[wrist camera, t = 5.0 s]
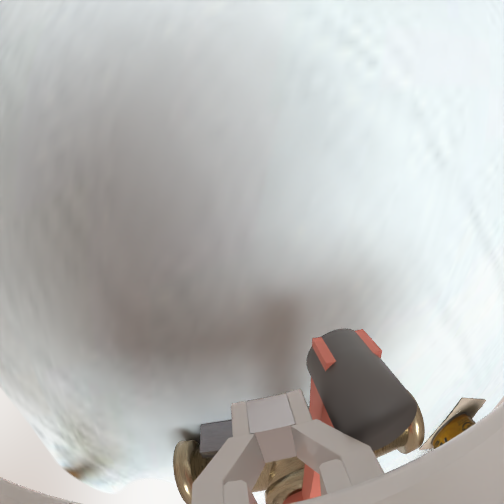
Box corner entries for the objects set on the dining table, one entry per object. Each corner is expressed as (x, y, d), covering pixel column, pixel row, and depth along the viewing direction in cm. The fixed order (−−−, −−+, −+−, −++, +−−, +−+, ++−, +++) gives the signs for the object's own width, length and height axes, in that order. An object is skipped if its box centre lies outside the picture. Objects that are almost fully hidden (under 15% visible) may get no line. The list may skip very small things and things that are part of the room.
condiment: (418, 449, 25) (460, 513, 13) (461, 397, 23) (518, 458, 12) (447, 445, 26) (486, 498, 14) (484, 398, 24) (534, 448, 13)
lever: (281, 515, 14) (291, 559, 10) (277, 335, 10) (307, 419, 6) (340, 503, 14) (355, 544, 10) (387, 316, 10) (451, 374, 6)
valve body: (201, 466, 21) (200, 527, 14) (176, 425, 19) (167, 495, 13) (388, 419, 22) (420, 469, 15) (394, 371, 20) (438, 424, 13)
